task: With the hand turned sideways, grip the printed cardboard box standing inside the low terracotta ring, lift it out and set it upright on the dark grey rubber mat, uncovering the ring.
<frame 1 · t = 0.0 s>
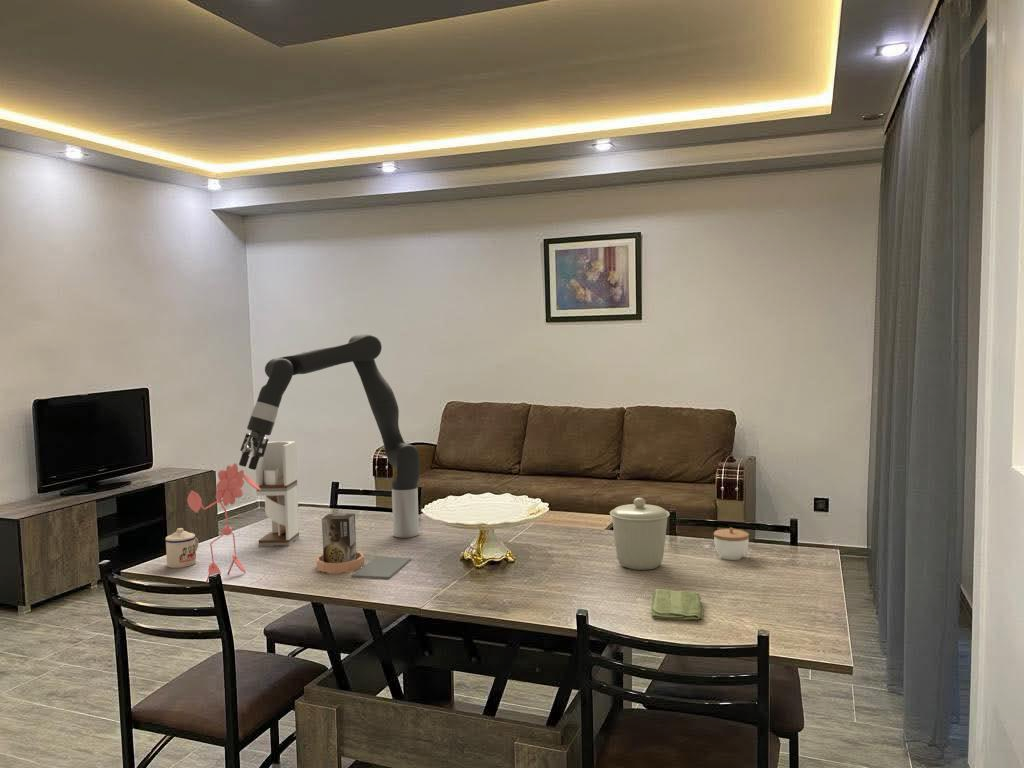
hand: (246, 467, 244), 31 cm above the table, tool tilted 20°, fingers open, 8 cm apart
canister: (640, 566, 238), on the table
washcloth: (677, 611, 200), on the table
display case: (279, 542, 275), on the table
pink flower stick figure: (235, 581, 231), on the table
teacup with lid: (185, 563, 251), on the table
printed cardboard box: (340, 567, 244), resting in terracotta ring
lidded jar: (731, 557, 245), on the table
rubber mat: (382, 568, 241), on the table
terracotta ring: (340, 566, 244), on the table
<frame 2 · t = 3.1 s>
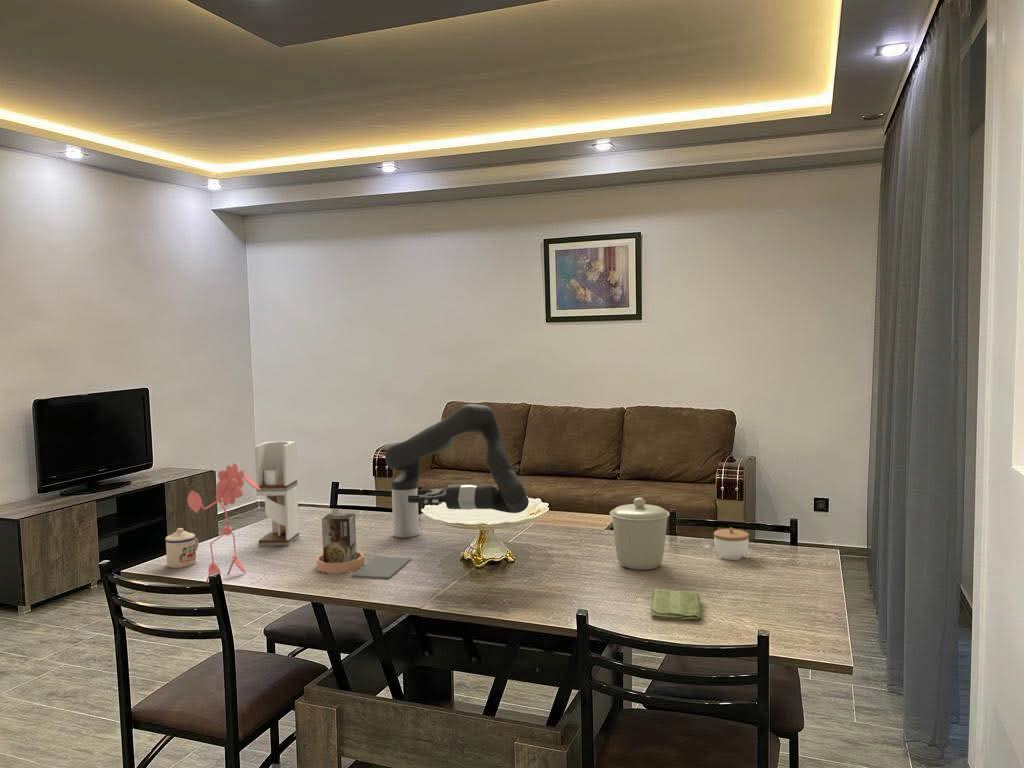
hand: (413, 496, 241), 22 cm above the table, tool horizontal, fingers open, 8 cm apart
nothing on the table moved.
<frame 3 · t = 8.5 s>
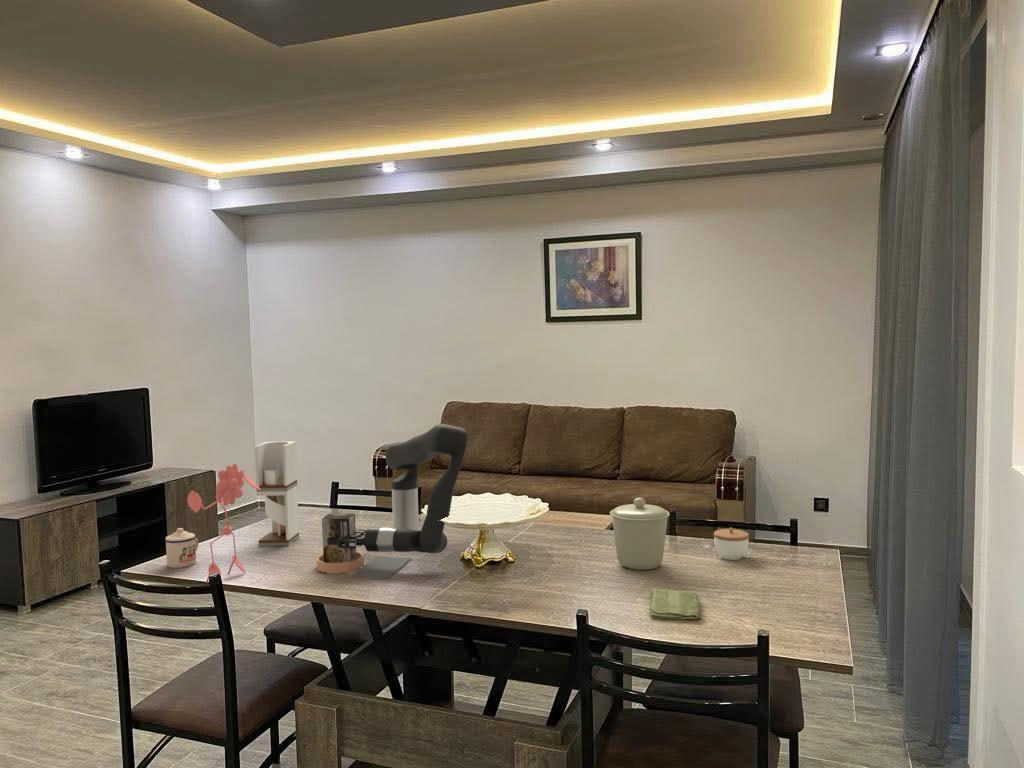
hand: (332, 537, 243), 9 cm above the table, tool horizontal, fingers closed on printed cardboard box, 7 cm apart
printed cardboard box: (340, 566, 244), resting in terracotta ring, touching gripper
everything else where it was.
when the fingers open (11 cm above the table, at t = 13.9 s): printed cardboard box stays where it is, resting on rubber mat.
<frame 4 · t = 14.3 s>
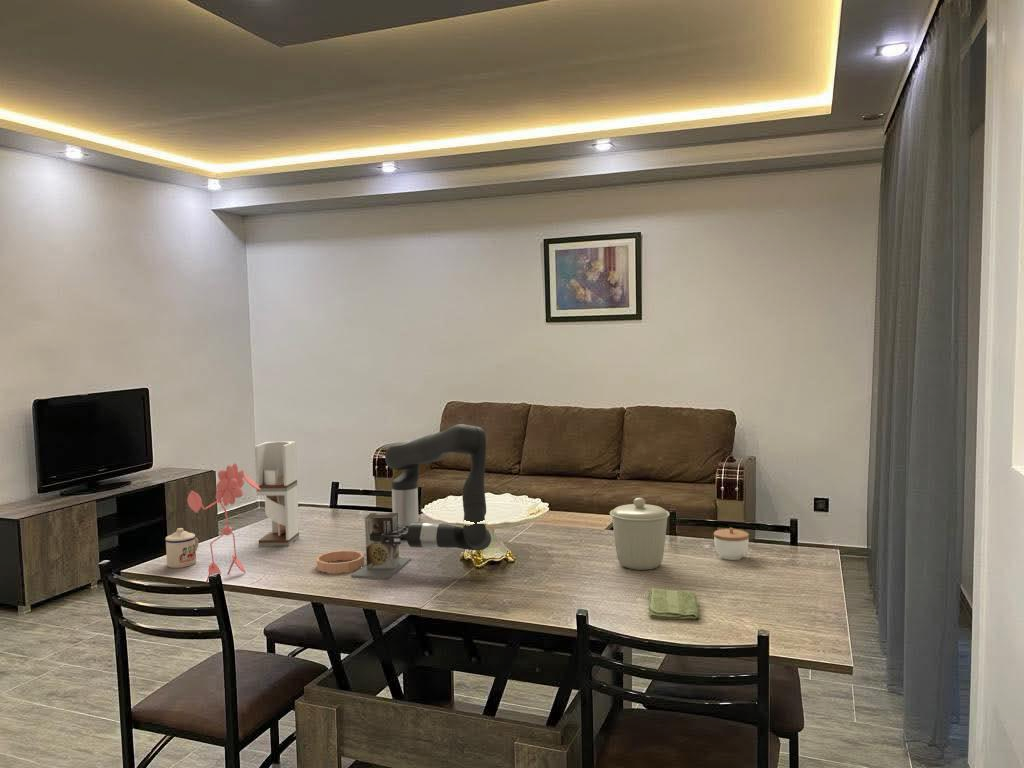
hand: (375, 533, 240), 11 cm above the table, tool horizontal, fingers open, 8 cm apart
printed cardboard box: (383, 566, 241), resting on rubber mat
everything else where it was.
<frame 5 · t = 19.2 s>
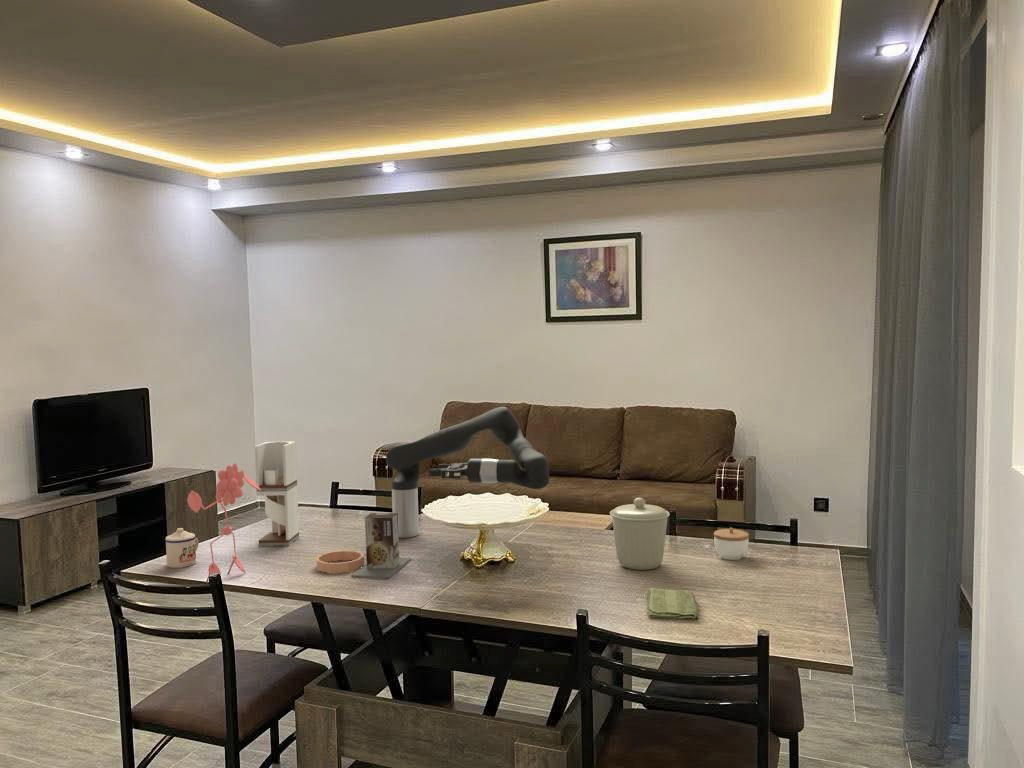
hand: (433, 470, 242), 30 cm above the table, tool horizontal, fingers open, 8 cm apart
at the end: printed cardboard box inside the target area (0.3 cm from its centre), resting on rubber mat; printed cardboard box tilted 0°; the gripper is holding nothing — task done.
